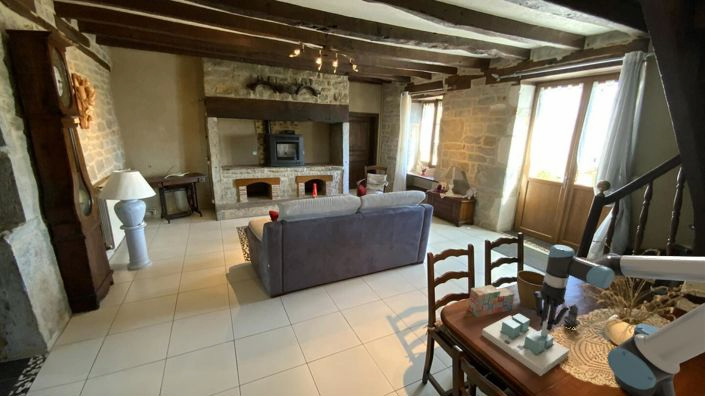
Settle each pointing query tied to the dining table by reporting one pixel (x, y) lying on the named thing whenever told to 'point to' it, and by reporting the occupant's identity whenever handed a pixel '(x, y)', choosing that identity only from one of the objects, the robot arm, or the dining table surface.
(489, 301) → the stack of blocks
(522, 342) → the board
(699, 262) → the robot arm
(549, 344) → the button
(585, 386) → the dining table surface
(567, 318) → the dark grey tall piece
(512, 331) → the button
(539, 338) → the button
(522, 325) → the button
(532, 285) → the plant pot
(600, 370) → the dining table surface
